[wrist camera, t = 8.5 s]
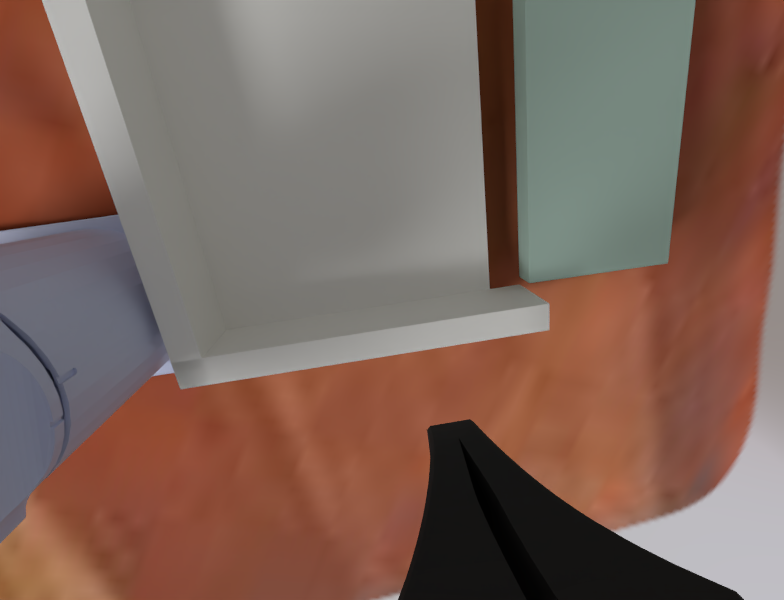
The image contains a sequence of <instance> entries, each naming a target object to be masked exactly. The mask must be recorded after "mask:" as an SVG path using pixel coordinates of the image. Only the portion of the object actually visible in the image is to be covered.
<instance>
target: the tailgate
mask: <svg viewBox="0 0 784 600" xmlns="http://www.w3.org/2000/svg"><path fill="white" fill-rule="evenodd" d="M695 1H696V0H513V34H514V76H515V118H516V160H517V202H518V244H519V277H521V278H522V279H524V280H525V281H527V282H528V283H534V282H541V281H548V280H555V279H562V278H569V277H576V276H583V275H589V274H596V273H603V272H610V271H617V270H624V269H631V268H638V267H645V266H652V265H659V264H666V263H668V258H669V248H670V239H671V229H672V220H673V210H674V201H675V191H676V181H677V172H678V162H679V153H680V143H681V134H682V124H683V115H684V105H685V96H686V86H687V77H688V67H689V58H690V48H691V39H692V29H693V20H694V10H695Z"/></svg>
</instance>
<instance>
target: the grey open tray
mask: <svg viewBox="0 0 784 600" xmlns="http://www.w3.org/2000/svg"><path fill="white" fill-rule="evenodd" d="M42 2H43V5H44V7H45V10H46V13H47V16H48V19H49V21H50V24H51V27H52V30H53V33H54V36H55V38H56V41H57V44H58V47H59V50H60V52H61V55H62V58H63V61H64V64H65V66H66V69H67V72H68V75H69V78H70V80H71V83H72V86H73V89H74V92H75V95H76V97H77V100H78V103H79V106H80V109H81V111H82V114H83V117H84V120H85V123H86V125H87V128H88V131H89V134H90V137H91V139H92V142H93V145H94V148H95V151H96V153H97V156H98V159H99V162H100V165H101V168H102V170H103V173H104V176H105V179H106V182H107V184H108V187H109V190H110V193H111V196H112V198H113V201H114V204H115V207H116V210H117V212H118V215H119V218H120V221H121V224H122V227H123V229H124V232H125V235H126V238H127V241H128V243H129V246H130V249H131V252H132V255H133V257H134V260H135V263H136V266H137V269H138V271H139V274H140V277H141V280H142V283H143V286H144V288H145V291H146V294H147V297H148V300H149V302H150V305H151V308H152V311H153V314H154V316H155V319H156V322H157V325H158V328H159V330H160V333H161V336H162V339H163V342H164V345H165V347H166V350H167V353H168V356H169V359H170V361H171V364H172V367H173V370H174V373H175V375H176V378H177V381H178V384H179V387H180V389H185V388H192V387H198V386H204V385H210V384H216V383H223V382H229V381H235V380H241V379H248V378H254V377H260V376H266V375H272V374H279V373H285V372H291V371H297V370H304V369H310V368H316V367H322V366H328V365H335V364H341V363H347V362H353V361H360V360H366V359H372V358H378V357H384V356H391V355H397V354H403V353H409V352H416V351H422V350H428V349H434V348H440V347H447V346H453V345H459V344H465V343H472V342H478V341H484V340H490V339H497V338H503V337H509V336H515V335H521V334H528V333H534V332H540V331H546V330H549V303H548V302H546V301H544V300H543V299H541V298H540V297H538V296H537V295H535V294H534V293H532V292H530V291H529V290H527V289H526V288H524V287H523V286H521V285H520V284H519V285H513V286H506V287H500V288H493V289H490V285H489V265H488V245H487V225H486V205H485V185H484V165H483V145H482V126H481V106H480V86H479V66H478V46H477V26H476V6H475V0H42Z"/></svg>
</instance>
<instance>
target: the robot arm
mask: <svg viewBox="0 0 784 600" xmlns="http://www.w3.org/2000/svg"><path fill="white" fill-rule="evenodd" d="M169 373H174V370H173V367H172V364H171V361H170V359H169V356H168V353H167V350H166V347H165V345H164V342H163V339H162V336H161V333H160V330H159V328H158V325H157V322H156V319H155V316H154V314H153V311H152V308H151V305H150V302H149V300H148V297H147V294H146V291H145V288H144V286H143V283H142V280H141V277H140V274H139V271H138V269H137V266H136V263H135V260H134V257H133V255H132V252H131V249H130V246H129V243H128V241H127V238H126V235H125V232H124V229H123V227H122V224H121V221H120V218H119V215H112V216H105V217H97V218H90V219H83V220H76V221H69V222H61V223H54V224H47V225H40V226H32V227H25V228H18V229H11V230H4V231H0V543H1V542H2V541H3V540H4V539H5V538H6V537H7V536H8V535H9V534H10V533H11V532H12V531H13V530H14V529H15V528H16V527H17V526H18V525H19V524H20V523H21V522H22V521H23V519H24V518H25V517H26V503H27V500H28V498H29V496H30V494H31V493H32V492H33V491H34V489H35V488H36V487H37V486H38V485H39V484H40V483H41V482H42V481H43V480H44V479H45V478H47V477H48V476H49V475H50V474H51V473H52V472H53V471H54V470H55V469H56V468H57V467H58V466H59V465H60V464H61V463H62V462H64V461H65V460H66V459H67V458H68V457H69V456H70V455H71V454H72V453H73V452H74V451H75V450H76V449H77V448H78V447H79V446H80V445H81V444H82V443H83V442H84V441H85V440H86V439H87V438H88V437H89V436H91V435H92V434H93V433H94V432H95V431H96V430H97V429H98V428H99V427H100V426H101V425H102V424H103V423H104V422H105V421H106V420H107V419H108V418H109V417H110V416H111V415H112V414H113V413H114V412H115V411H116V410H117V409H119V408H120V407H121V406H122V405H123V404H124V403H125V402H126V401H127V400H128V399H129V398H130V397H131V396H132V395H133V394H134V393H135V392H136V391H137V390H138V389H139V388H140V387H141V386H142V385H143V384H144V383H146V382H147V381H148V380H149V379H150V378H151V377H152V376H157V375H163V374H169ZM427 432H428V440H429V449H430V473H429V483H428V490H427V497H426V503H425V509H424V514H423V519H422V524H421V528H420V532H419V536H418V540H417V543H416V547H415V551H414V554H413V558H412V561H411V564H410V568H409V571H408V574H407V577H406V579H405V582H404V585H403V588H402V590H401V593H400V596H399V599H398V600H744V599H743V598H742V597H741V596H740V595H739V594H738V593H737V592H735V591H733V590H731V589H729V588H727V587H724V586H722V585H720V584H717V583H715V582H713V581H710V580H708V579H706V578H704V577H702V576H699V575H697V574H695V573H693V572H690V571H688V570H686V569H684V568H681V567H679V566H677V565H675V564H673V563H671V562H669V561H667V560H665V559H663V558H661V557H659V556H657V555H655V554H653V553H651V552H649V551H647V550H645V549H643V548H641V547H639V546H637V545H635V544H633V543H632V542H630V541H628V540H626V539H624V538H623V537H621V536H619V535H617V534H616V533H614V532H612V531H611V530H609V529H607V528H605V527H604V526H602V525H600V524H599V523H597V522H595V521H593V520H592V519H590V518H589V517H587V516H585V515H584V514H582V513H581V512H579V511H578V510H576V509H575V508H573V507H572V506H570V505H569V504H567V503H566V502H565V501H563V500H562V499H560V498H559V497H558V496H556V495H555V494H553V493H552V492H551V491H549V490H548V489H547V488H545V487H544V486H543V485H542V484H540V483H539V482H538V481H537V480H535V479H534V478H533V477H532V476H530V475H529V474H528V473H527V472H526V471H524V470H523V469H522V468H521V467H520V466H519V465H517V464H516V463H515V462H514V461H513V460H512V459H511V458H510V457H508V456H507V455H506V454H505V453H504V452H503V451H502V450H501V449H500V448H499V447H498V446H497V445H496V444H495V443H494V442H493V441H492V440H490V439H489V438H488V437H487V436H486V435H485V433H484V432H483V431H482V430H481V429H480V428H479V427H478V426H477V425H476V424H475V423H474V422H473V421H471V420H470V419H469V420H463V421H457V422H452V423H446V424H440V425H434V426H430V427H429V428H428V430H427Z"/></svg>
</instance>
